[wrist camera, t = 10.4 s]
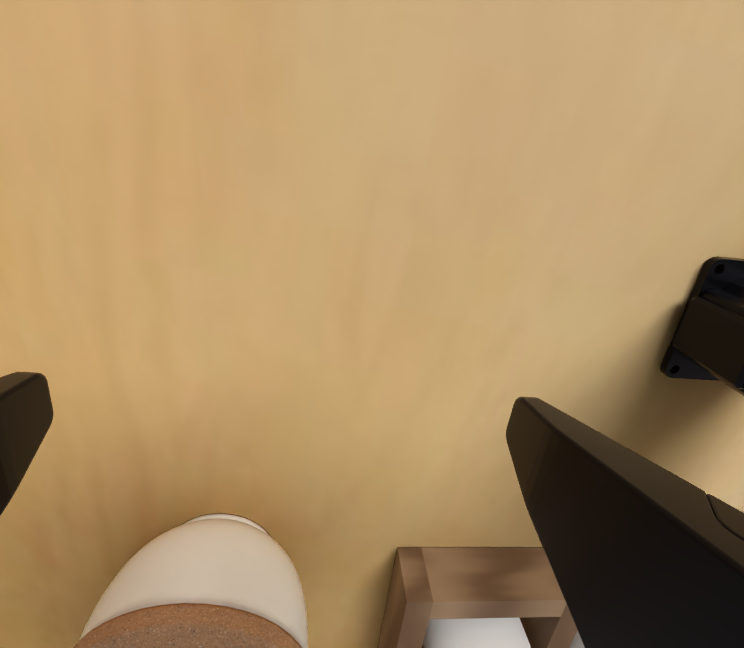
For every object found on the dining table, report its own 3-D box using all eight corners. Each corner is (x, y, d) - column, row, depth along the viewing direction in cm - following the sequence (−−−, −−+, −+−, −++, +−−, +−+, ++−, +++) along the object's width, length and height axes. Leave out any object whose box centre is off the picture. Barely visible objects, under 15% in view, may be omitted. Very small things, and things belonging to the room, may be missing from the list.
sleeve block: (563, 547, 30) (592, 599, 26) (521, 651, 34) (541, 706, 31) (397, 547, 28) (406, 602, 25) (375, 656, 33) (381, 714, 29)
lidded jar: (308, 608, 30) (303, 805, 21) (135, 612, 28) (54, 825, 20) (318, 482, 25) (315, 667, 17) (113, 480, 24) (-2, 680, 16)
